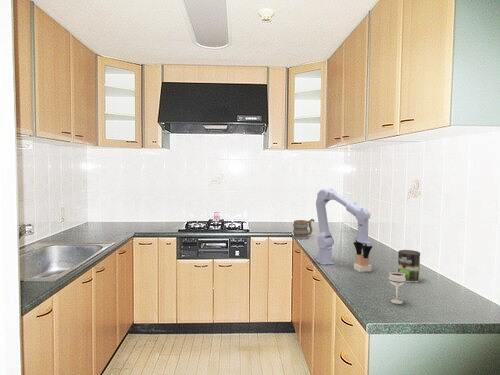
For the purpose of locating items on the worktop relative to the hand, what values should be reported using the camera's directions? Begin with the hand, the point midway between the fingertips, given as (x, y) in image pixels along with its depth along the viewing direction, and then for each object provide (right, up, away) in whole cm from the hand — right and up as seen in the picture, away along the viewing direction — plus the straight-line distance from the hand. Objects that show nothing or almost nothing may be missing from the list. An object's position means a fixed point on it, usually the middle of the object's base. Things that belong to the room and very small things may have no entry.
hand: (362, 256), depth 208 cm
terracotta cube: (0, -4, 0) cm, 4 cm away
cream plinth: (0, -7, 0) cm, 7 cm away
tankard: (-18, -3, +97) cm, 99 cm away
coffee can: (+18, -9, -18) cm, 27 cm away
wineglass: (0, -10, -49) cm, 50 cm away
